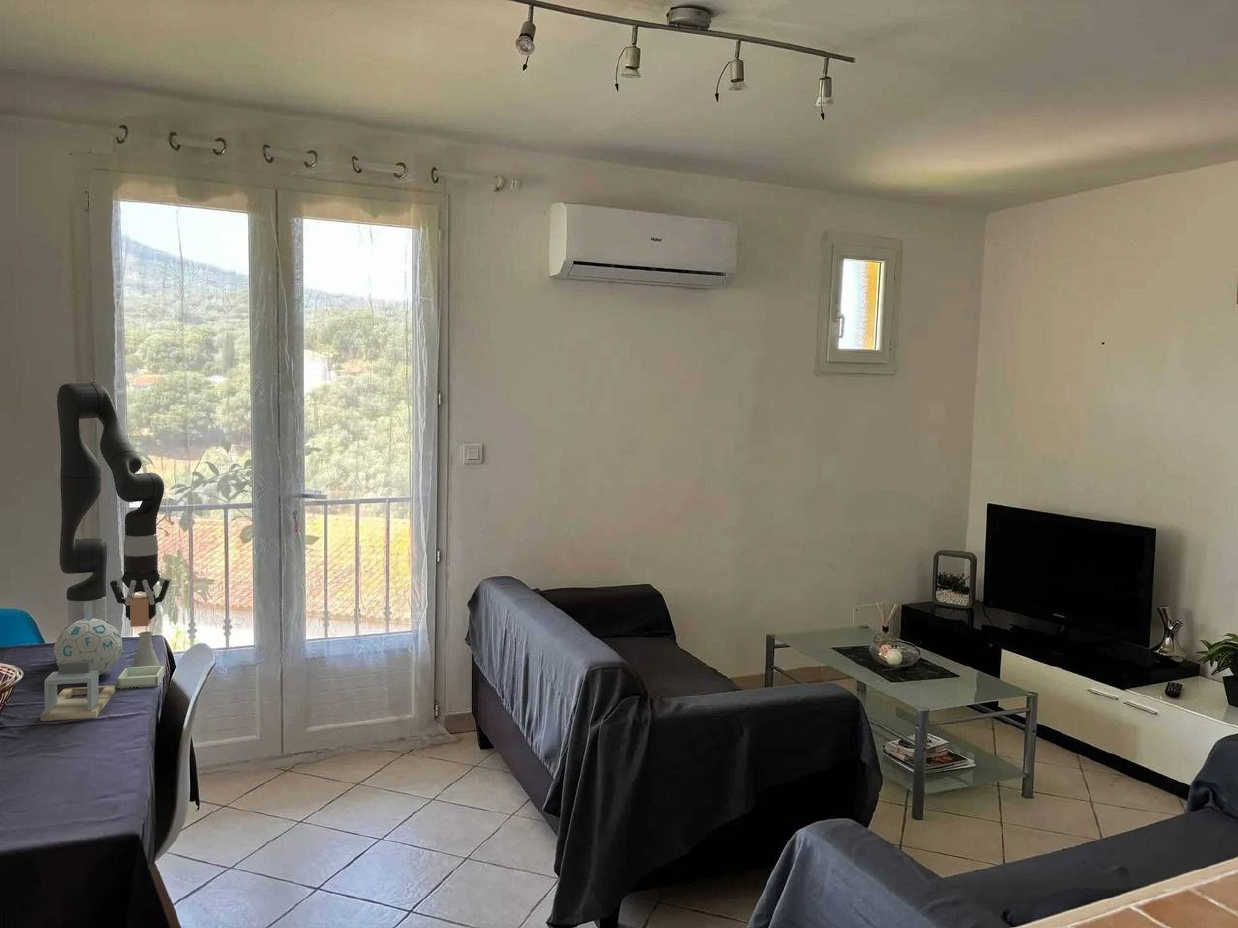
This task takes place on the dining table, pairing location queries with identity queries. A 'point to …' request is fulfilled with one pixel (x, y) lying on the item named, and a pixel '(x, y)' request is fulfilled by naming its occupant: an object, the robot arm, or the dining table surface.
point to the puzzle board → (77, 704)
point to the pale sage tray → (141, 677)
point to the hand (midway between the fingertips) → (141, 618)
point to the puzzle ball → (89, 644)
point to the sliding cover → (72, 674)
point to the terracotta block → (139, 611)
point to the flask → (145, 652)
